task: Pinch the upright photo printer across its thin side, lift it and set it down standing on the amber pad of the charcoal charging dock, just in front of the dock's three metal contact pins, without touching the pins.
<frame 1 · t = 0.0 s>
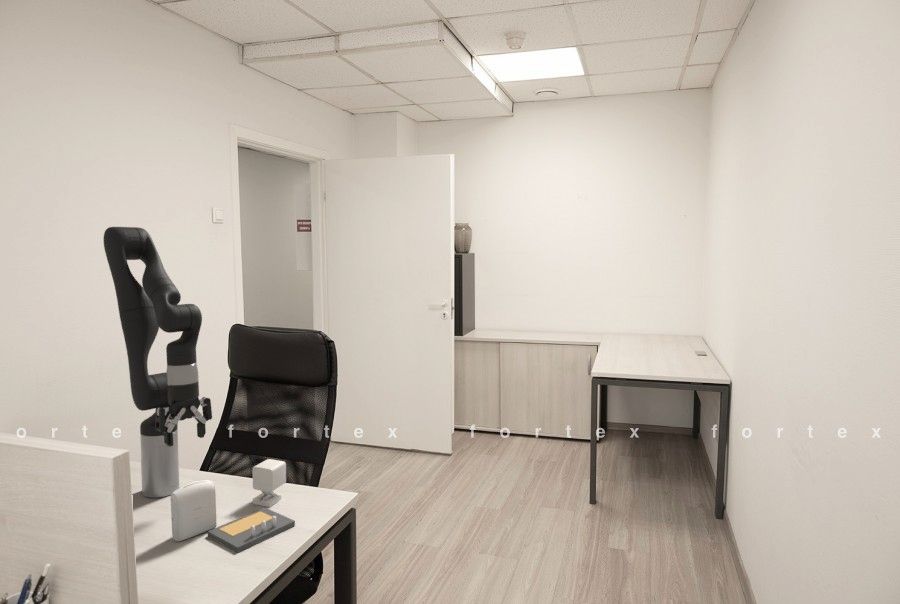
hand: (185, 441, 152), 17 cm above the table, tool pointing down, fingers open, 8 cm apart
security camera: (268, 500, 157), on the table
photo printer: (194, 533, 139), on the table
charging dock: (252, 530, 140), on the table
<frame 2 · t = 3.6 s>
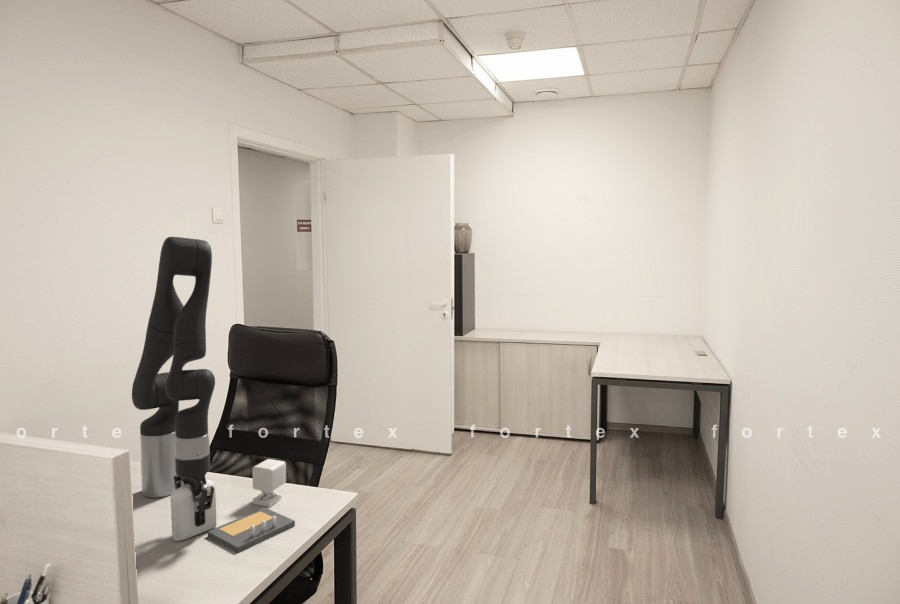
hand: (194, 521, 138), 3 cm above the table, tool pointing down, fingers closed on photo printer, 4 cm apart
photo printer: (194, 533, 139), on the table, touching gripper
everything else where it was.
when the fingers open (5 cm above the table, at t = 9.3 s): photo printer drops 1 cm, resting on charging dock.
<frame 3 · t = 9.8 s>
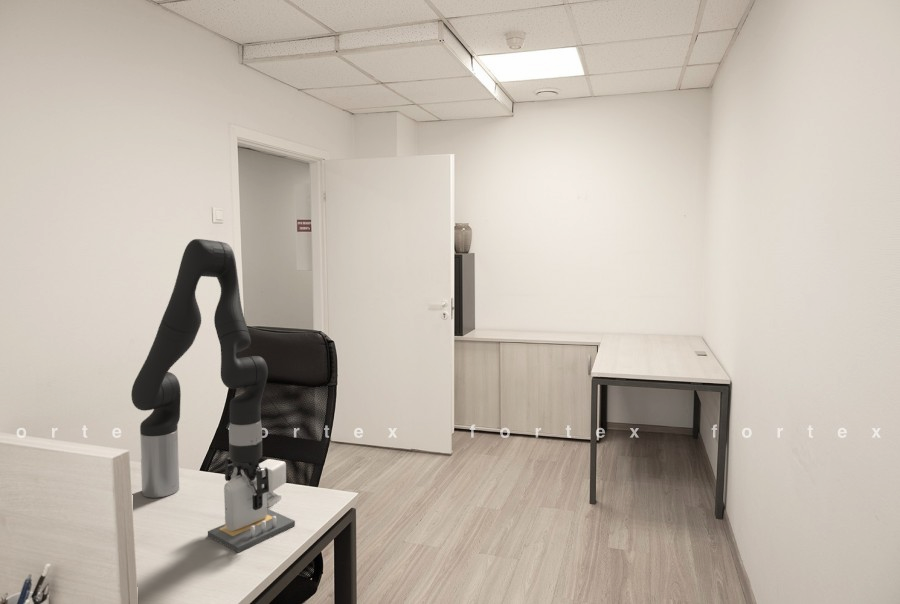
hand: (246, 503, 141), 6 cm above the table, tool pointing down, fingers open, 8 cm apart
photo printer: (246, 523, 141), point 1 cm above the table, touching charging dock
everything else where it was.
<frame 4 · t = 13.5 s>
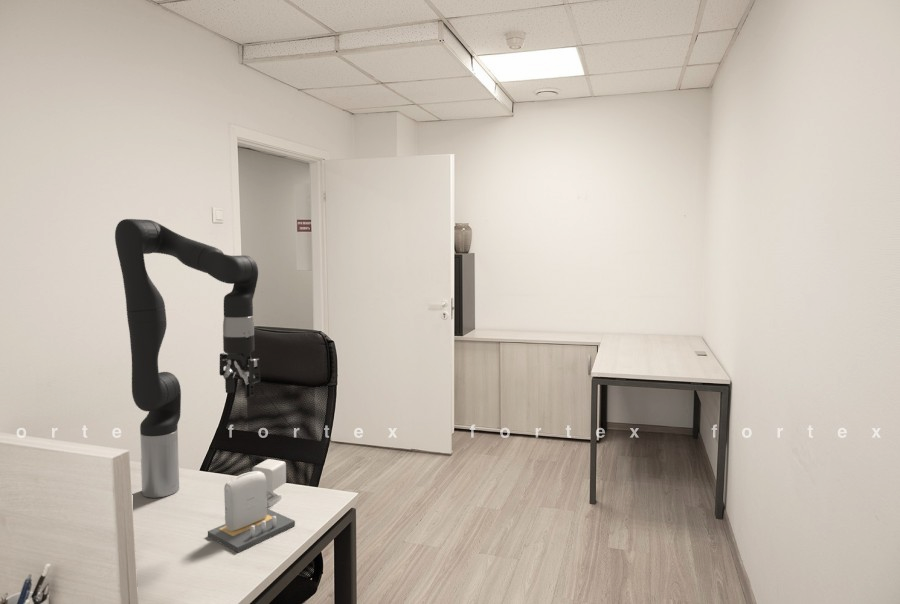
hand: (239, 395, 150), 30 cm above the table, tool pointing down, fingers open, 8 cm apart
nothing on the table moved.
at the end: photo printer 0.3 cm from the target spot on the charging dock, point 1.1 cm above the charging dock's base; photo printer tilted 0°; the gripper is holding nothing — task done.
